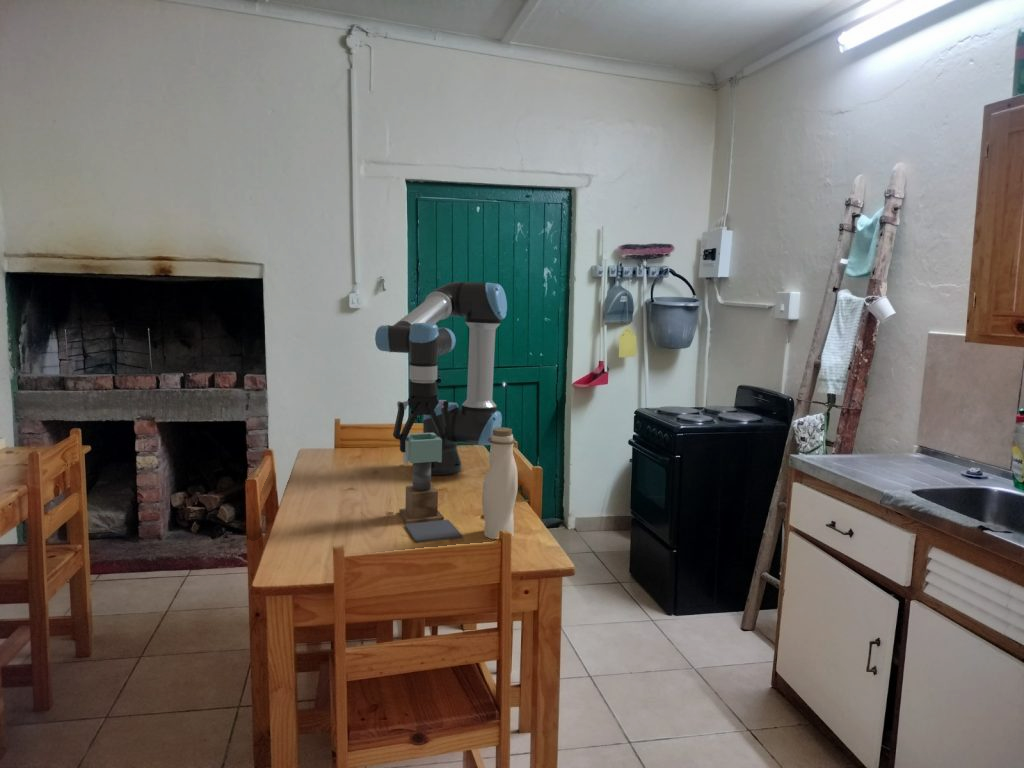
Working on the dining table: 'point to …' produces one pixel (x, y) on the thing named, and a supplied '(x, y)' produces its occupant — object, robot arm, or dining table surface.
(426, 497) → the stand
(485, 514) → the water bottle
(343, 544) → the dining table surface
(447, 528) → the mat
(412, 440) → the teal square planter
